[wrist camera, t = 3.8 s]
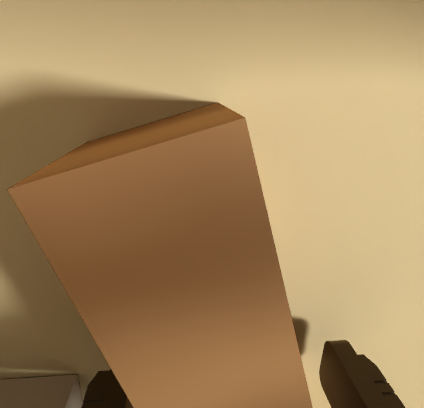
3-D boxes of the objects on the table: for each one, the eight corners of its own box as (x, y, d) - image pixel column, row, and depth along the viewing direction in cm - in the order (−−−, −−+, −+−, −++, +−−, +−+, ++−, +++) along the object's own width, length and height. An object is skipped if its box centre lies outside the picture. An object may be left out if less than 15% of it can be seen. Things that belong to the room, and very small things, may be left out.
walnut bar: (88, 141, 9) (6, 189, 5) (216, 101, 9) (244, 117, 5) (234, 473, 16) (253, 613, 12) (309, 453, 16) (353, 587, 12)
